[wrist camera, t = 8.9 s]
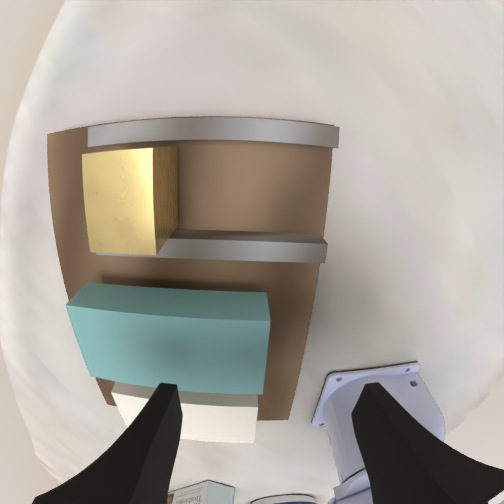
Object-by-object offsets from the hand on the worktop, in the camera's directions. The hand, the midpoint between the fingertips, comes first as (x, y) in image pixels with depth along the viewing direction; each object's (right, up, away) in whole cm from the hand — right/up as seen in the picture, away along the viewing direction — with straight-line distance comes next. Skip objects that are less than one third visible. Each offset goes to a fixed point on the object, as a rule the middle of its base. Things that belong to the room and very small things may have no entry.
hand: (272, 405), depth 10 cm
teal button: (-5, +2, +5) cm, 8 cm away
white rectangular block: (-6, -5, +10) cm, 12 cm away
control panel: (-5, +3, +9) cm, 10 cm away
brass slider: (-6, +9, +4) cm, 11 cm away
